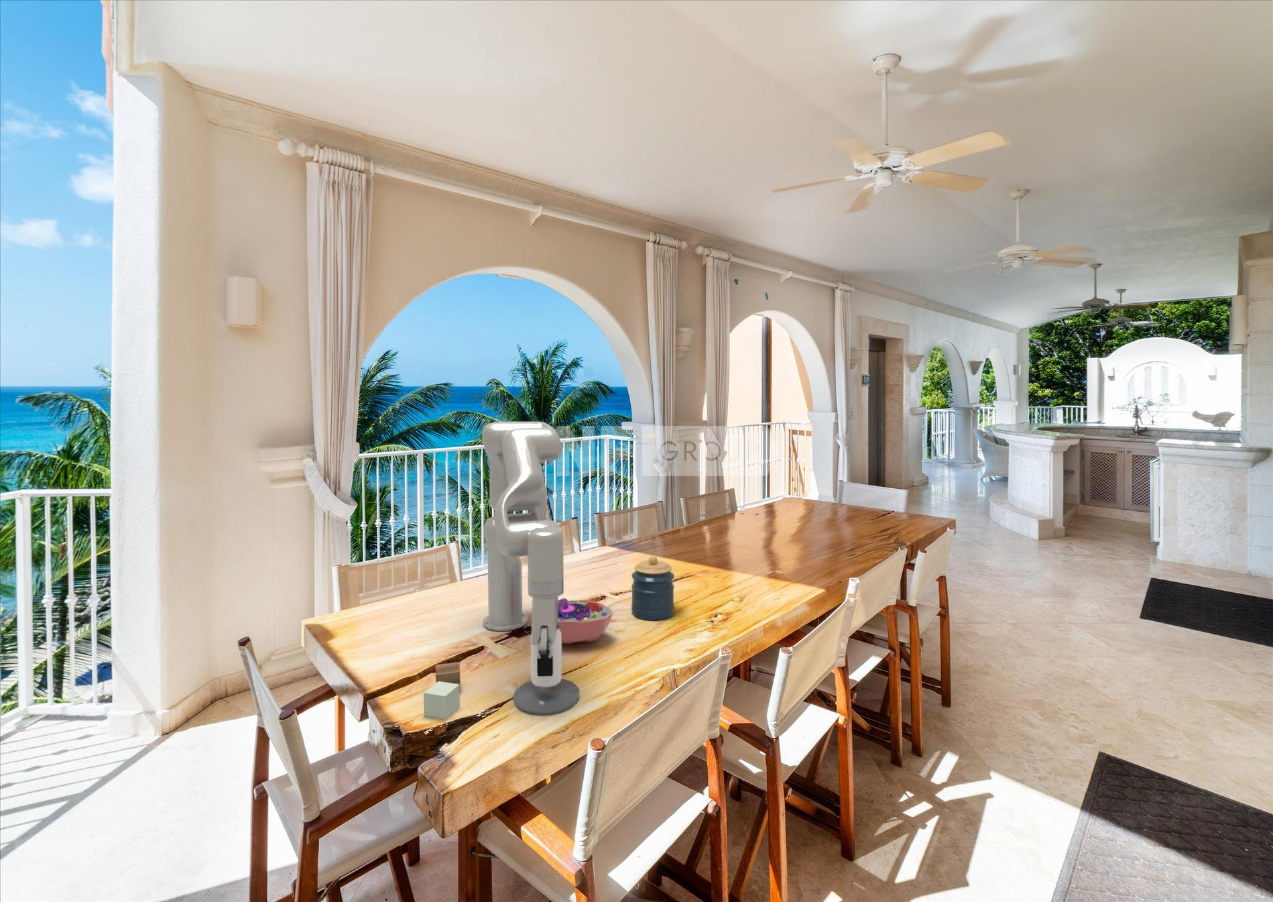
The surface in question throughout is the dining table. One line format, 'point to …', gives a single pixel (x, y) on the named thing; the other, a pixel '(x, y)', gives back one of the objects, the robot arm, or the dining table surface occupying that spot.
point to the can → (557, 663)
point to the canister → (652, 590)
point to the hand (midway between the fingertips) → (546, 666)
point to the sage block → (441, 700)
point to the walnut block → (448, 673)
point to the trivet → (546, 698)
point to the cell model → (582, 620)
